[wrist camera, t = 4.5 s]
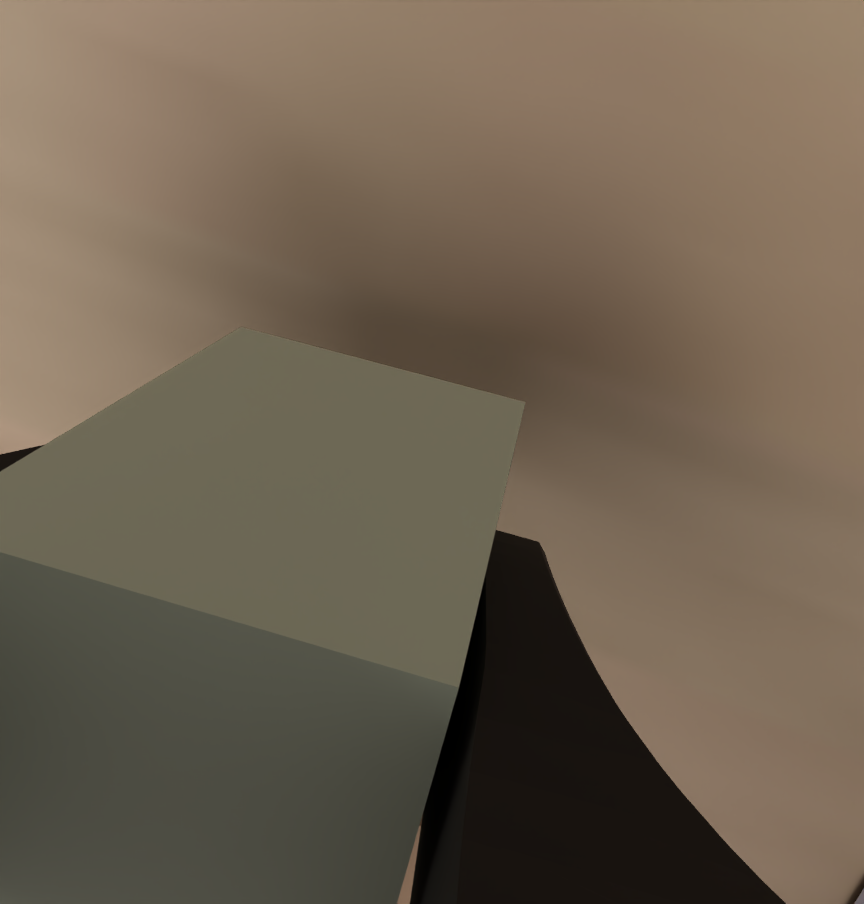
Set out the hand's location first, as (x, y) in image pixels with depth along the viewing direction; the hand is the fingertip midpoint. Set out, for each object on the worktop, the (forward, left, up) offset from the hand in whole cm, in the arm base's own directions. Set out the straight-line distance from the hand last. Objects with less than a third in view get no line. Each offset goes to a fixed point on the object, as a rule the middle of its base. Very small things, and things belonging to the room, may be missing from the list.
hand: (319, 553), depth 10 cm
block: (0, 0, -2) cm, 2 cm away
